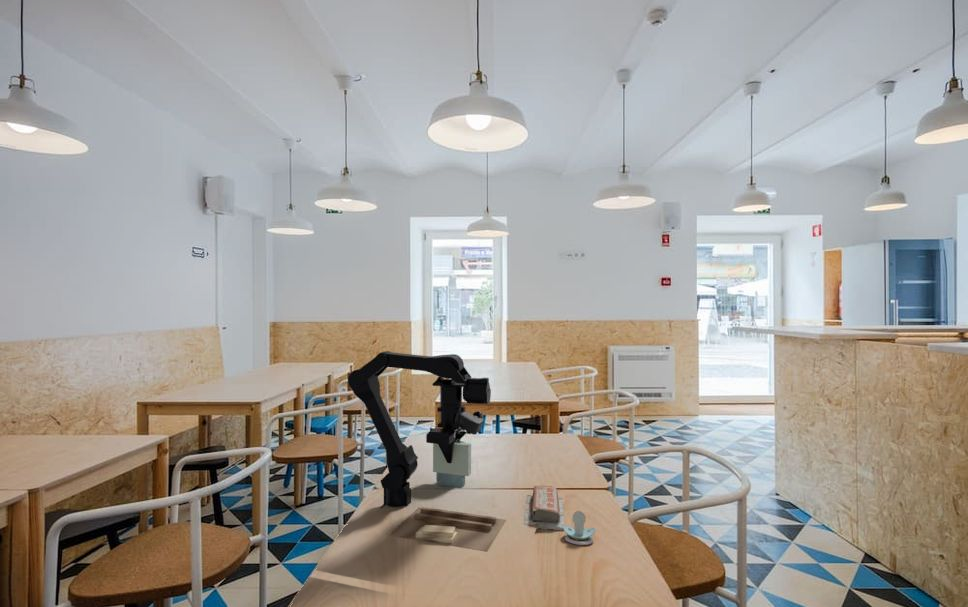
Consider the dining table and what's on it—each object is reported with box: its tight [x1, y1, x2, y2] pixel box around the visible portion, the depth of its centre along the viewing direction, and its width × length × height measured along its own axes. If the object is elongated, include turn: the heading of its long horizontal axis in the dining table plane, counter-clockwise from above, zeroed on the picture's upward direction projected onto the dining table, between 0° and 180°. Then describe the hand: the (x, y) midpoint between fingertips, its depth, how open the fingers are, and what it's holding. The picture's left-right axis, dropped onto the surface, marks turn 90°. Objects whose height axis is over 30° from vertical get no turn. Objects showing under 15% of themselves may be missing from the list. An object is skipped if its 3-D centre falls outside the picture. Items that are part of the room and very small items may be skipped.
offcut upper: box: [422, 525, 455, 537], centre depth 112 cm, size 7×3×1 cm, turn 82°
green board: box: [432, 441, 472, 477], centre depth 129 cm, size 10×2×8 cm, turn 72°
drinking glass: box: [435, 440, 466, 489], centre depth 147 cm, size 10×10×12 cm
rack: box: [388, 506, 507, 552], centre depth 117 cm, size 24×16×2 cm, turn 72°
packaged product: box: [523, 485, 566, 531], centre depth 127 cm, size 18×5×10 cm
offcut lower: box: [416, 527, 458, 544], centre depth 112 cm, size 9×4×1 cm, turn 72°
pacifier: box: [563, 510, 596, 546], centre depth 113 cm, size 7×6×6 cm
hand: (451, 461), depth 129 cm, fingers closed on green board, 2 cm apart
